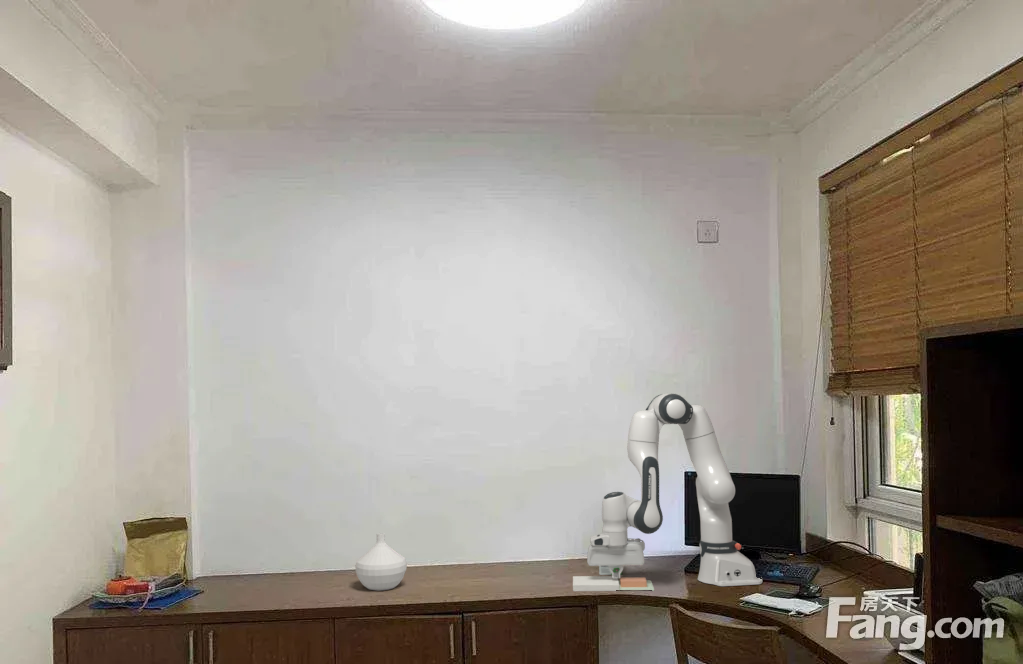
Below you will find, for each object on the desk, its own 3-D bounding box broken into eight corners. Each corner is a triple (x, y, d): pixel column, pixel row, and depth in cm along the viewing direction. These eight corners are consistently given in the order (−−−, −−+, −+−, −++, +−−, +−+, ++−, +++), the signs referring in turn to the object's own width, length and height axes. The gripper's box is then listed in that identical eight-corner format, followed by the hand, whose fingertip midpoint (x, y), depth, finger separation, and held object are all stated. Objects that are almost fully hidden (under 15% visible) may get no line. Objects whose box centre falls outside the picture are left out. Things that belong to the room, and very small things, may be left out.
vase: (380, 578, 325) (380, 527, 326) (417, 584, 315) (416, 531, 316) (344, 589, 310) (344, 535, 311) (382, 596, 300) (381, 540, 301)
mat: (651, 581, 312) (650, 580, 312) (654, 590, 299) (654, 589, 299) (617, 581, 313) (617, 580, 313) (619, 590, 300) (619, 589, 300)
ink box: (622, 571, 328) (621, 540, 328) (622, 575, 323) (621, 542, 323) (598, 571, 329) (598, 540, 329) (598, 575, 324) (598, 543, 324)
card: (645, 582, 309) (645, 577, 309) (646, 587, 303) (646, 581, 303) (619, 582, 309) (619, 577, 310) (620, 587, 303) (620, 581, 304)
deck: (617, 581, 313) (617, 576, 313) (619, 590, 300) (619, 585, 300) (573, 581, 314) (572, 576, 314) (573, 591, 301) (572, 585, 301)
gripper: (643, 536, 310) (645, 575, 309) (586, 537, 311) (587, 576, 311) (645, 540, 303) (646, 580, 303) (586, 540, 305) (587, 580, 304)
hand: (616, 578), depth 307 cm, fingers closed
